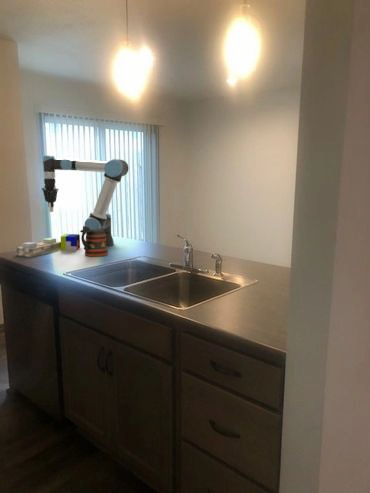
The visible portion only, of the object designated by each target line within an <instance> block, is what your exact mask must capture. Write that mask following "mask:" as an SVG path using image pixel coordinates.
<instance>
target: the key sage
mask: <svg viewBox="0 0 370 493" xmlns="http://www.w3.org/2000/svg"><path fill="white" fill-rule="evenodd" d="M56 241H57V238H55V237H47V238H43V239H42V242H43V243H48V244H51V243H55V242H56Z"/></svg>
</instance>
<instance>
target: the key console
mask: <svg viewBox="0 0 370 493" xmlns="http://www.w3.org/2000/svg"><path fill="white" fill-rule="evenodd" d="M38 243H43V241H40V242H38ZM46 244H47V245H42V246H37V247H34V248H23V245H22V246H17V247H16V256H20V257H28V258H33V257H37V256H40V255H41V256H42V255H44V254H48V253H52V252H53V253H54V252H56V250H57V251H61V250H60V249H61V241H57V240H56V242H55V243H51V244H48V243H46Z"/></svg>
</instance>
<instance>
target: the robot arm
mask: <svg viewBox="0 0 370 493" xmlns="http://www.w3.org/2000/svg"><path fill="white" fill-rule="evenodd" d="M42 165H43V184H44V187H41V190H42V192H43V197H44V200H45V202H47V207H48V212H49V213H53V212H54V206H55V205H54V203H56V201H57V196H58V191H59V188H57V187H56V170H57V171H81V172H83V171H84V172H93V173H104V174H103V177H104V181H103V183H102V186H101V189H100V192H99V194H98V197H97V199H96V204H95V205H94V206H95V207H94V208H93V211H91V212H90V213H89V216H88V217H87V219H86V220H84V225H83V226H86V227H88V228H89V229H92V228H100V229H101V228H103V230H105V234H106V246H107V247H109V246H113V245H114V244H115V241H114V239H113V235H112V215H111V214H110V213H108V209H109V207H110V204H111V201H112V198H113V196H114V193H115V190H116V187H117V185H118V184H119V183H120V182H121V180H122V177H124V176H126V175H127V174H128V173H129V164H128V163H127V161H125V160H124V159H120V158H119V159H118V158H112V159H111V158H110V159H109V160H107V161H102V160H101V161H100V160H85V159H84V160H83V159H82V160H81V159H71V158H55V156H54V155H44V156H42Z"/></svg>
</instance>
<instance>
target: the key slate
mask: <svg viewBox="0 0 370 493" xmlns="http://www.w3.org/2000/svg"><path fill="white" fill-rule="evenodd" d="M37 243H38V242H33V241H29V242H24V243H22V244H21V245H22V246H23V248H34V247H37Z"/></svg>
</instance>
